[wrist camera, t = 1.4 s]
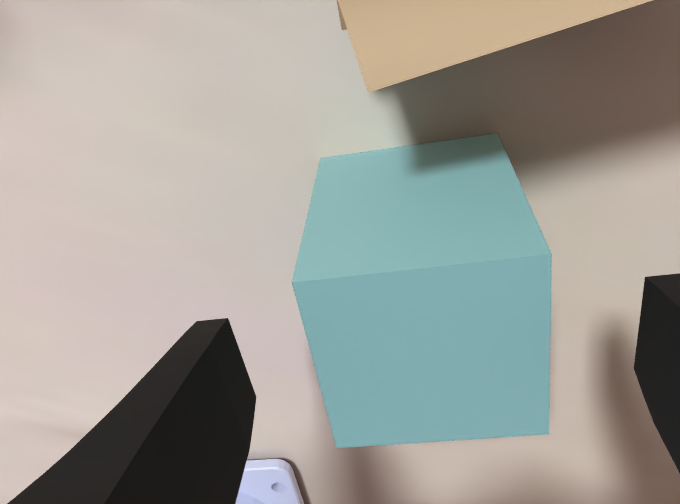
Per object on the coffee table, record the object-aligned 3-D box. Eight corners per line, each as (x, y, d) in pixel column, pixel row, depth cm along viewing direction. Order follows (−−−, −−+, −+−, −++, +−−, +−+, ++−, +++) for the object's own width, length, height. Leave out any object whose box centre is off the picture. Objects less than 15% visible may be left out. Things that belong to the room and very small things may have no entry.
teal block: (502, 278, 15) (549, 434, 11) (349, 294, 16) (336, 448, 11) (497, 132, 13) (551, 254, 9) (320, 157, 13) (292, 282, 9)
